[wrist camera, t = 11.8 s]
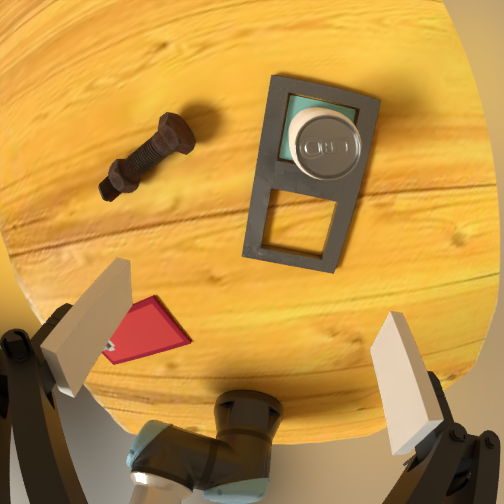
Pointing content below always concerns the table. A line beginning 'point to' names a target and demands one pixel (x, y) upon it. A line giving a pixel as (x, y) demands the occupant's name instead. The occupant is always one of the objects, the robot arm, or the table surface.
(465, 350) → the table surface
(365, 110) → the grey flat frame
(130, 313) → the red board with handle
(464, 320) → the table surface
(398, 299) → the table surface
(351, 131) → the can
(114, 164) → the bolt
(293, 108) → the pad
